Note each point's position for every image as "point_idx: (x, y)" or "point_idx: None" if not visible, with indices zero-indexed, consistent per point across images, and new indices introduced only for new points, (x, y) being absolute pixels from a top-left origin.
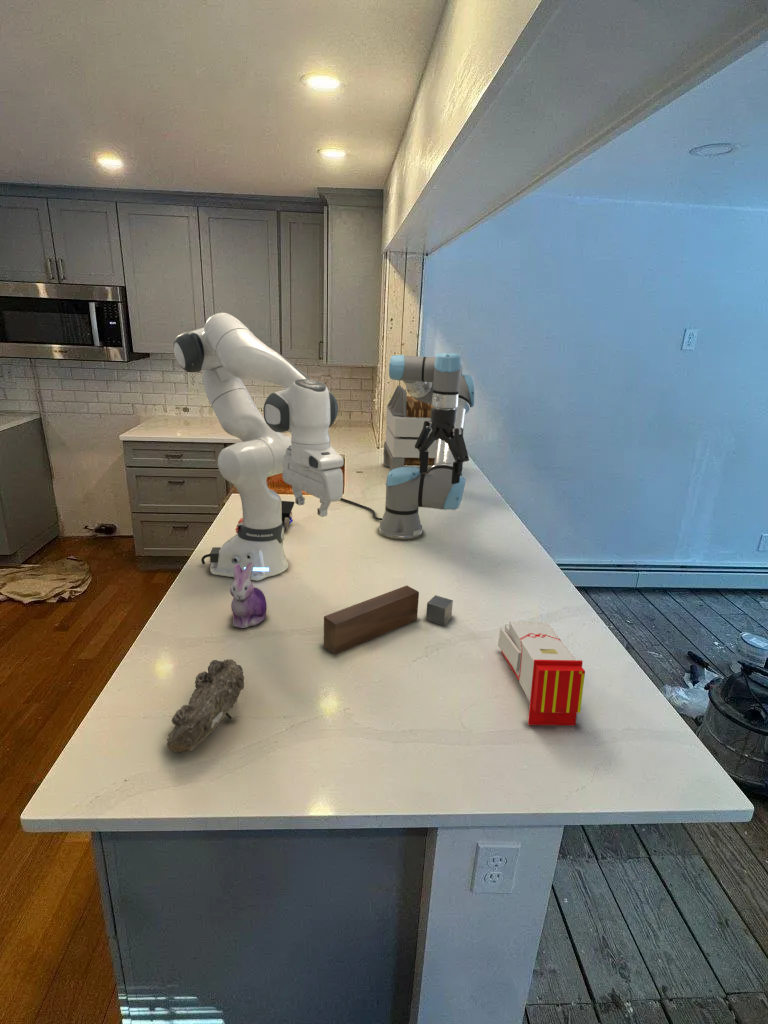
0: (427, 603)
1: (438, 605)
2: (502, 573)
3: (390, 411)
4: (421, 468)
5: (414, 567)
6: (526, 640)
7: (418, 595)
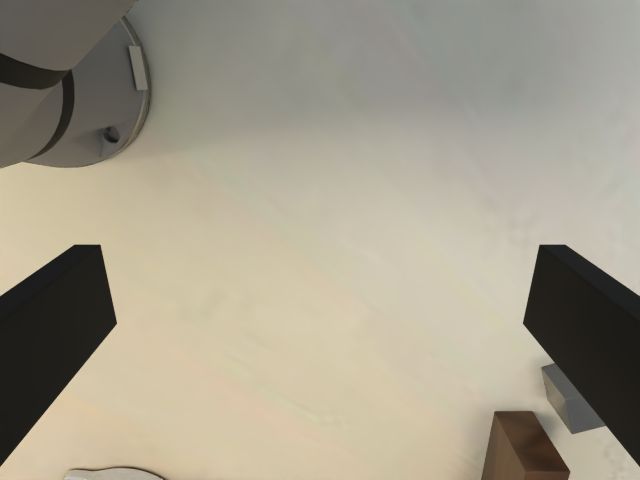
0: (571, 432)
1: (600, 424)
2: (573, 30)
3: None
4: (92, 353)
5: (339, 246)
6: None
7: (565, 464)
